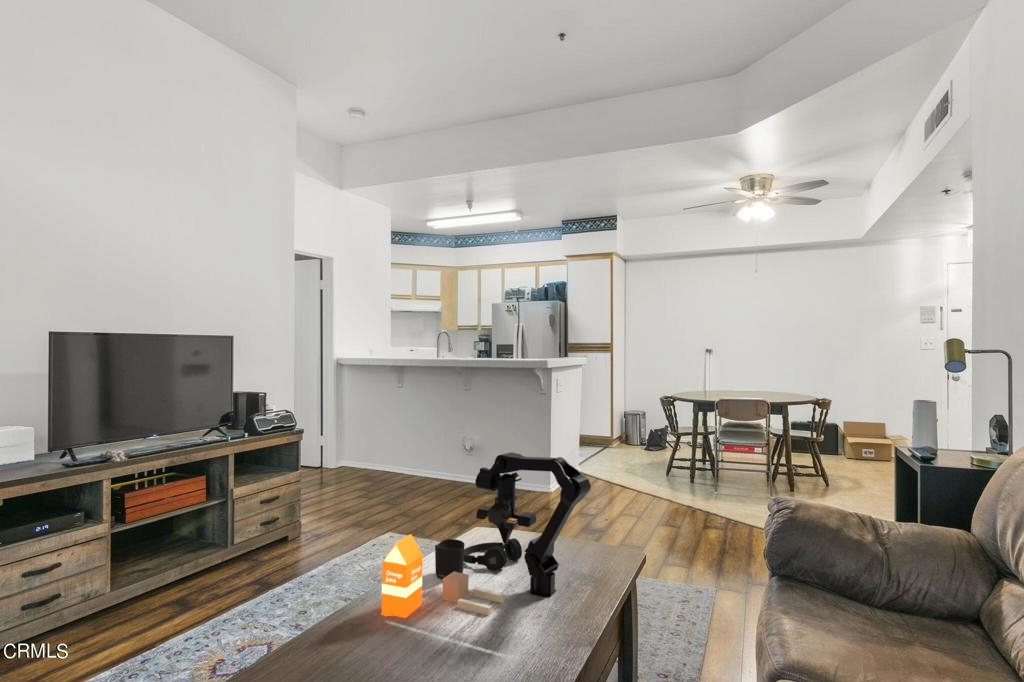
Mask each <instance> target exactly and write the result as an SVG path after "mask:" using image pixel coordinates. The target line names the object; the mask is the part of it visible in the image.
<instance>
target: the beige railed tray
mask: <svg viewBox="0 0 1024 682" xmlns="http://www.w3.org/2000/svg"><path fill="white" fill-rule="evenodd" d="M472 596H473V597H476V598H480V599H485V600H488V601H493V602H497V603H500V604H504V603H505V602H506V601H507V599H506V594H505V593H502V592H497V591H495V590H494V591H493V590H489V589H485V588H480V587H474V588H472ZM456 604H457V606H456V607H457V608H459V609H462V610H465V611H470V612H474V613H477V614H482V615H485V616H488V617H489V616H490V615H491V614H492V605H488V604H484V603H480V602H477V601H472V600H468V599H466V598H464V599H461V598H460V599H459V600H458V601H457V603H456Z"/></svg>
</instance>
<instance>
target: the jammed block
mask: <svg viewBox="0 0 1024 682" xmlns="http://www.w3.org/2000/svg"><path fill="white" fill-rule="evenodd" d="M468 596H469V574H466V573H464V572H463V573H458V572H453V573H451V574H449V575H448V576H446V577H445V578H443V580H442V600H443V601H447V602H451V603H453V604H457V601H458V600H459V599H460V598H461V599H466V598H467V597H468Z"/></svg>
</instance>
